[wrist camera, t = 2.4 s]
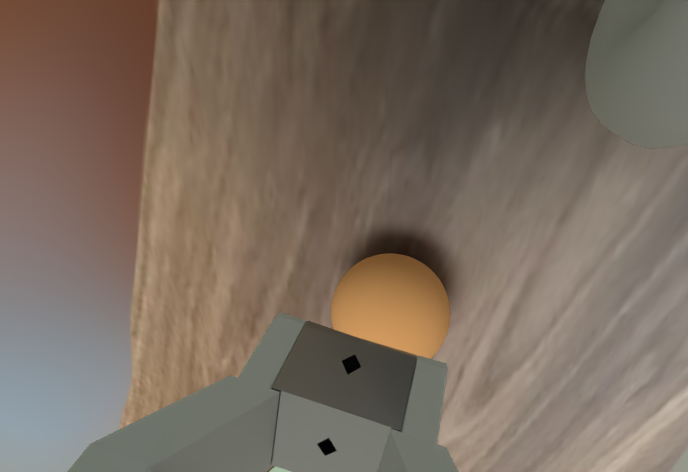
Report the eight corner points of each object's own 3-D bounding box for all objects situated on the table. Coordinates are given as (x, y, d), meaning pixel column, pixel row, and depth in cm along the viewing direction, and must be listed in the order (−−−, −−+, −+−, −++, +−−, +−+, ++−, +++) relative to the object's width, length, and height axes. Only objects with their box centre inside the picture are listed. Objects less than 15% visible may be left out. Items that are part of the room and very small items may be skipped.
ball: (357, 219, 25) (324, 283, 21) (468, 249, 25) (459, 323, 20) (341, 304, 28) (308, 376, 24) (439, 334, 28) (425, 414, 23)
